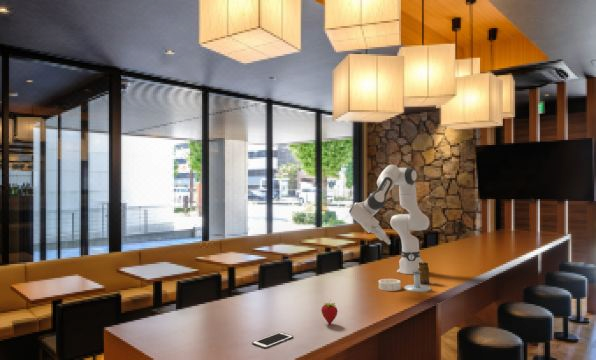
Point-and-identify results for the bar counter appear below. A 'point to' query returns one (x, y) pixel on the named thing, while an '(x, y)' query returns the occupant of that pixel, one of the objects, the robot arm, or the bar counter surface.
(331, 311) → the strawberry
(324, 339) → the bar counter surface
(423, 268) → the condiment
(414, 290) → the lid
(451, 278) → the bar counter surface
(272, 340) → the cell phone
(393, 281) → the bowl
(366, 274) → the bar counter surface
